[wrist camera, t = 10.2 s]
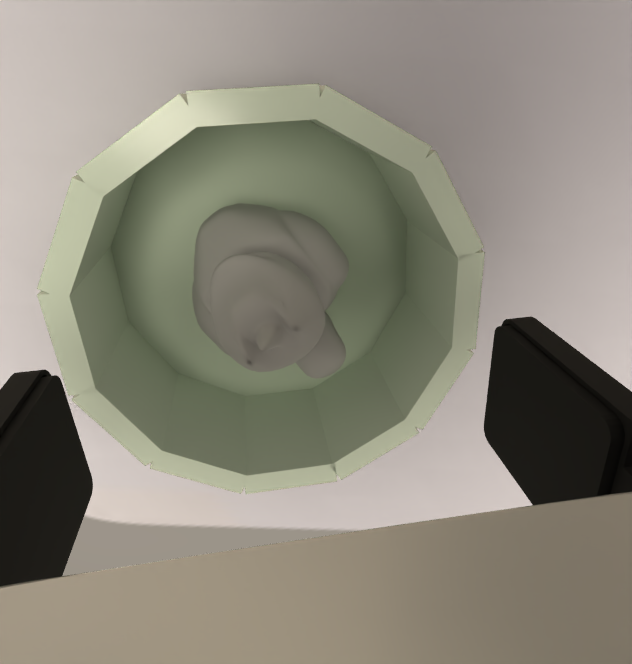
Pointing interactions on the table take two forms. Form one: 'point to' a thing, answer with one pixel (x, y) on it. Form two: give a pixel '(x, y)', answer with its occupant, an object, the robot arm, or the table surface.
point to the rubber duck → (269, 288)
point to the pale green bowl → (178, 275)
